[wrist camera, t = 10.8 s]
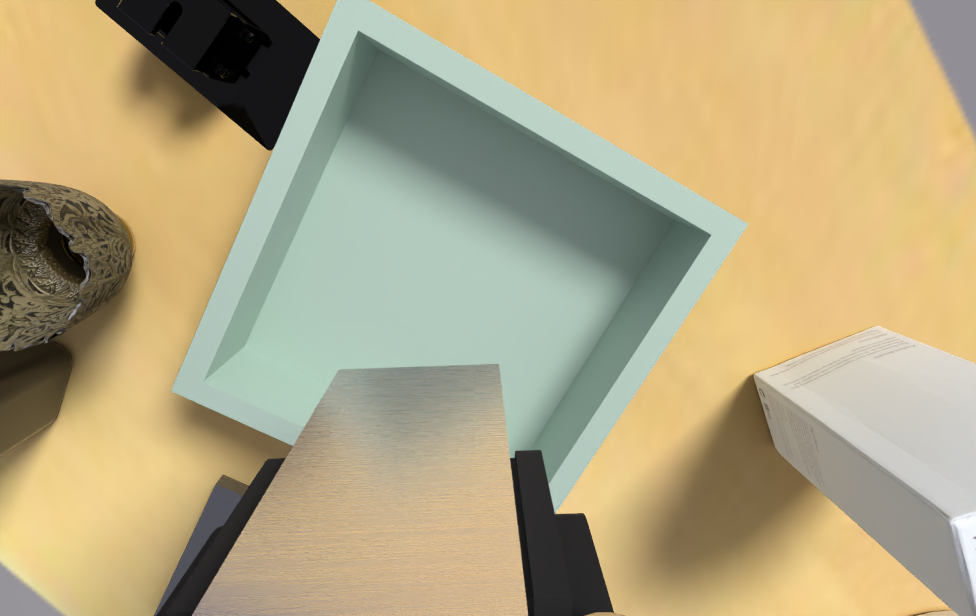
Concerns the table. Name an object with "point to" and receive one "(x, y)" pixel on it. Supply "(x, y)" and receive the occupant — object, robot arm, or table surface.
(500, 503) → the strut
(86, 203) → the cup
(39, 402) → the wine bottle
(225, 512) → the stud plate
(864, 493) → the skincare box
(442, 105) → the bin
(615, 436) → the table surface
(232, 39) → the black slotted box
